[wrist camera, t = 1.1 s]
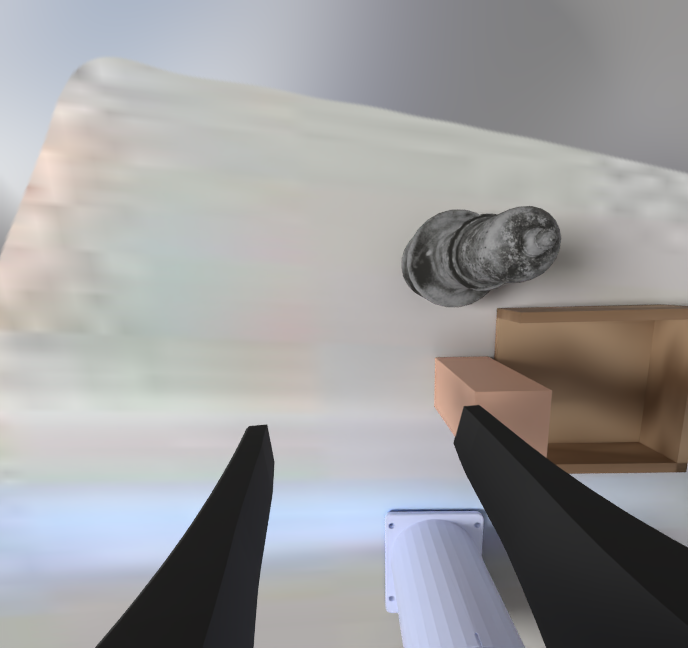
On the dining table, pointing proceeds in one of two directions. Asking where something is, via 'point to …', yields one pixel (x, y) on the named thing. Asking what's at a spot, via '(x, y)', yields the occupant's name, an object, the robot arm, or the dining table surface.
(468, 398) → the tall block
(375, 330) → the dining table surface
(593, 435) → the walnut tray
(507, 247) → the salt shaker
